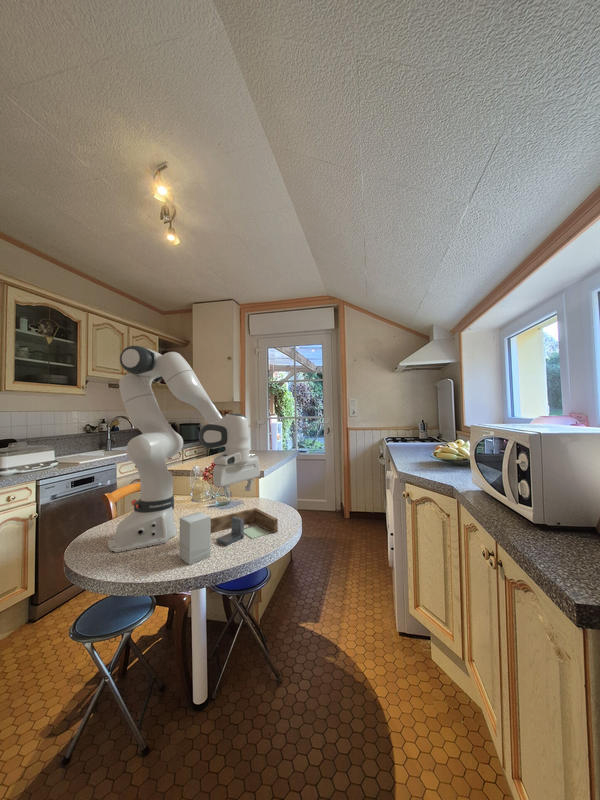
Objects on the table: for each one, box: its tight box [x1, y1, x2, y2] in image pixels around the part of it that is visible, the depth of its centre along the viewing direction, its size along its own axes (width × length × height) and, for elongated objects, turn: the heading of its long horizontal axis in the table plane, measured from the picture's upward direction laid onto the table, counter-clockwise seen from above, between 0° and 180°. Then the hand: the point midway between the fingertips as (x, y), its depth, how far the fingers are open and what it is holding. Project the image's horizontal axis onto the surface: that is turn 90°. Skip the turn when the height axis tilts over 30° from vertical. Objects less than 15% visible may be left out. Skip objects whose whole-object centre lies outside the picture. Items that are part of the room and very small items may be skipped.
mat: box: [244, 524, 269, 540], centre depth 111 cm, size 7×10×1 cm
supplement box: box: [179, 511, 212, 565], centre depth 92 cm, size 7×7×13 cm
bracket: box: [216, 516, 245, 547], centre depth 104 cm, size 8×5×7 cm, turn 143°
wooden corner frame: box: [211, 507, 279, 534], centre depth 111 cm, size 22×17×5 cm
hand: (238, 493), depth 107 cm, fingers open, 8 cm apart
